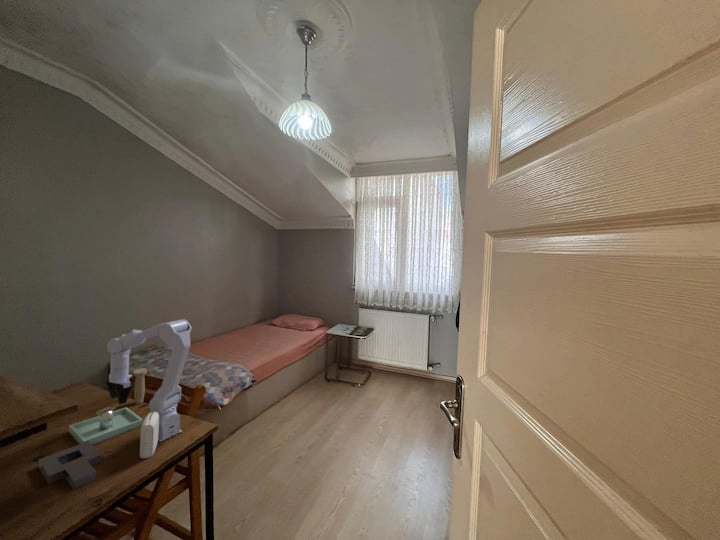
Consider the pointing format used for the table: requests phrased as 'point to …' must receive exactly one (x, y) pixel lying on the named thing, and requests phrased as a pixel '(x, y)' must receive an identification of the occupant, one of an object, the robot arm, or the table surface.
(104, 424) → the clear tall piece
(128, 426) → the tray
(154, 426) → the photo printer
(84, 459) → the plate
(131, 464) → the table surface
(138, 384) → the handle
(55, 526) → the table surface
